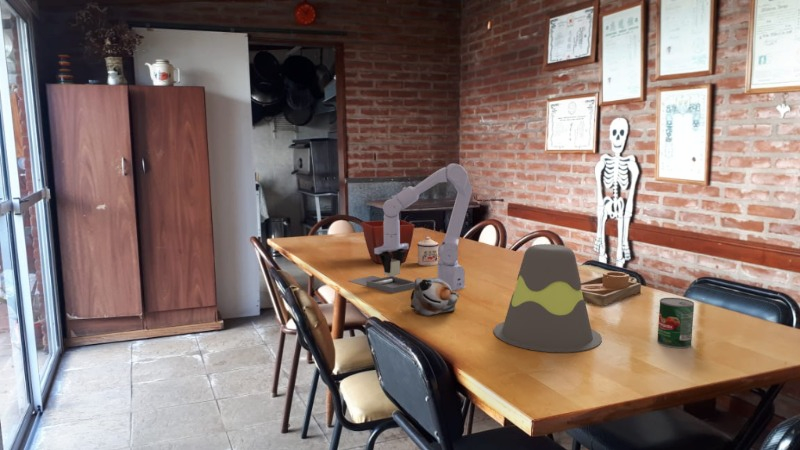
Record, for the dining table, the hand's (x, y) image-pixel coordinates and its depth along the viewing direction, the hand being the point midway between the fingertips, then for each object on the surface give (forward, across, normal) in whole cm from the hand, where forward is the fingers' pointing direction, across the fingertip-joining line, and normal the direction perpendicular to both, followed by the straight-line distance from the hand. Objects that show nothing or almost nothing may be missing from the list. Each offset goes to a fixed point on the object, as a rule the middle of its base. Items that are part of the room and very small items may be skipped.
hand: (392, 271), depth 202 cm
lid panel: (+6, 0, -13) cm, 14 cm away
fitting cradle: (+7, -47, +55) cm, 73 cm away
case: (+6, 0, 0) cm, 6 cm away
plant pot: (+6, -32, -39) cm, 51 cm away
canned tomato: (+7, -15, +92) cm, 93 cm away
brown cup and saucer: (+7, -47, +55) cm, 73 cm away
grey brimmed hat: (+7, +3, +66) cm, 66 cm away
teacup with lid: (+6, -41, -21) cm, 46 cm away
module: (+1, 0, 0) cm, 1 cm away
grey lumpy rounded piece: (+6, +10, +31) cm, 33 cm away
